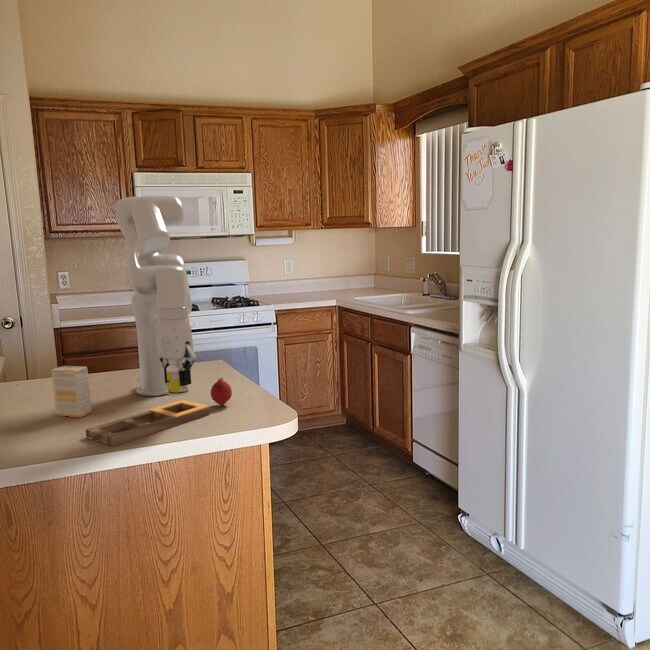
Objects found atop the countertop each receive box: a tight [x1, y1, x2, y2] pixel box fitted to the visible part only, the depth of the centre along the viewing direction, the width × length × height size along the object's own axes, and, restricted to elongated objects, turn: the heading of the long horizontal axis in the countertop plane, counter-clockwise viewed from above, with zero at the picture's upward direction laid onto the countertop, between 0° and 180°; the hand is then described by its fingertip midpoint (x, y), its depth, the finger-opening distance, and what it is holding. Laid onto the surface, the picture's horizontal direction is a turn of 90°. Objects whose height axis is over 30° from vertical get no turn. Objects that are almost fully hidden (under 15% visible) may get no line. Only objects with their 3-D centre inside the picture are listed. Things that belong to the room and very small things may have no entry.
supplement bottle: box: [166, 357, 190, 397], centre depth 156 cm, size 5×5×10 cm
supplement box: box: [51, 365, 92, 418], centre depth 162 cm, size 8×5×13 cm, turn 71°
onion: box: [210, 377, 233, 406], centre depth 166 cm, size 6×6×8 cm
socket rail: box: [85, 399, 211, 447], centre depth 151 cm, size 11×29×2 cm, turn 142°
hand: (178, 382), depth 156 cm, fingers closed on supplement bottle, 5 cm apart
